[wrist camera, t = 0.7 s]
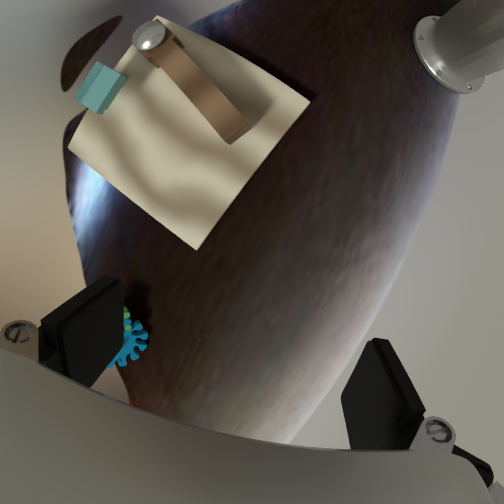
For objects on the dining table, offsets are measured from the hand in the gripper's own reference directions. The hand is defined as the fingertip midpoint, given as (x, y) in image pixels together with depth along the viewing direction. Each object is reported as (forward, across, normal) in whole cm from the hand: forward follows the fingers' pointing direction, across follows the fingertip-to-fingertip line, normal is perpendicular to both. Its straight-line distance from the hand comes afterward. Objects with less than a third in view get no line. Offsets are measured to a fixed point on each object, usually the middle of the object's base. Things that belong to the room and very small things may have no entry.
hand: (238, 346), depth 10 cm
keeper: (+24, +22, -13) cm, 35 cm away
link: (+24, +12, -15) cm, 30 cm away
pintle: (+24, +17, -19) cm, 35 cm away
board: (+26, +14, -10) cm, 31 cm away
